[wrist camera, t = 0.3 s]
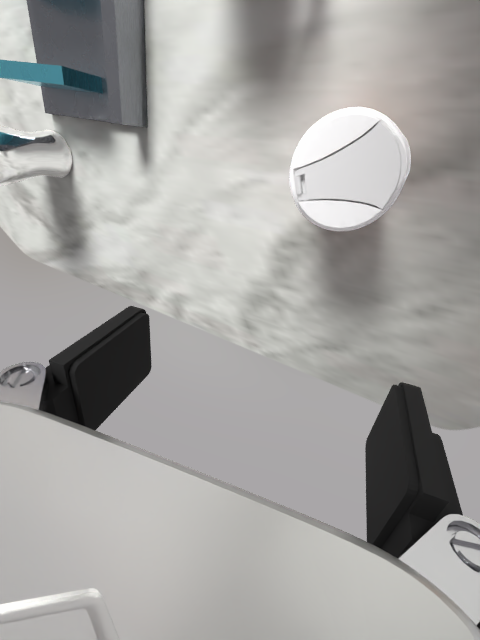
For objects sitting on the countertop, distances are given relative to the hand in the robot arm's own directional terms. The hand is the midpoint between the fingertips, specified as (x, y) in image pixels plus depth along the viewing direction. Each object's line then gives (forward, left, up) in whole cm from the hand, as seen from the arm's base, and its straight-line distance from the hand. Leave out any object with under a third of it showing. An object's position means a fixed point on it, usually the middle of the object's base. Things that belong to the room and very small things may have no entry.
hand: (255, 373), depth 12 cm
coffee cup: (-6, +1, -31) cm, 32 cm away
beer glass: (-2, -40, -31) cm, 51 cm away
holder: (-15, -32, -31) cm, 47 cm away
